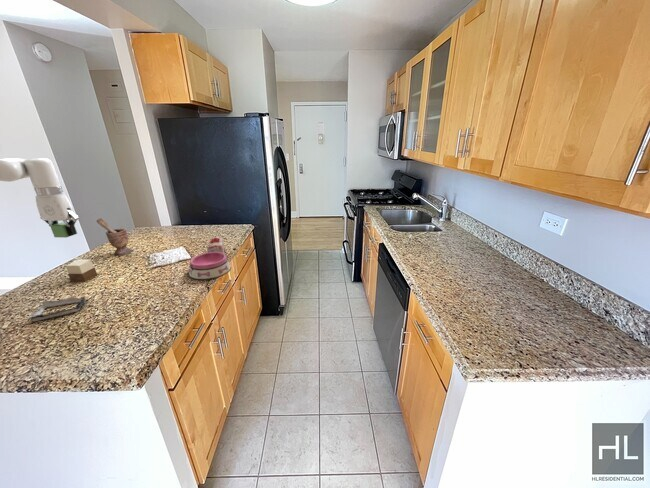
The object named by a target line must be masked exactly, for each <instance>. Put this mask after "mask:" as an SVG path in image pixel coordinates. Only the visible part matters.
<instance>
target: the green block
mask: <svg viewBox="0 0 650 488" xmlns="http://www.w3.org/2000/svg"><path fill="white" fill-rule="evenodd" d="M49 227H50V230H51V232H52V234H53V237H54V238H69V237H70V236H68V233H67V231H66V228H65V227H67V226H66V225H65V223H64V222H63V221H60V222H58V224H55V225H51V226H49ZM74 227H75V230H76V233H77V234H78V232H77V228H76V225H74Z"/></svg>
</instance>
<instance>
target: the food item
mask: <svg viewBox="0 0 650 488" xmlns="http://www.w3.org/2000/svg"><path fill="white" fill-rule="evenodd" d="M208 240H209V244H207V245H206V250H207V253H209V252H221V253H224V254H225V244H224V240H223V238H222V237H217V236H216V237H212V238H209V239H208Z"/></svg>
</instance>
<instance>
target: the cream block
mask: <svg viewBox="0 0 650 488" xmlns="http://www.w3.org/2000/svg"><path fill="white" fill-rule="evenodd" d="M94 267H95V266H94V264H93V262H92V259H77V260H74V261H72V262H70V263H68V264H66V265H65V268H66V271H67V273H68V274H83V273H85V272H87V271H88V270H90V269H92V268H94Z"/></svg>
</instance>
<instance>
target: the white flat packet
mask: <svg viewBox="0 0 650 488" xmlns="http://www.w3.org/2000/svg"><path fill="white" fill-rule="evenodd" d="M143 257H144V259H148V260H149V262H148V261H144V263H145V265H146V266H148V265H149V264H152V265H150V266H148V268H149V269H152V268H155V267H160V266H166V265H171V264H175V263H179V262H180V261H186V260H191V259H192V257H191V255H190V253H188V251H187V250H186V248H185V247H184V246H179V247H177V248H172V249H168V250H163V251H159V252H153V253H152V254H151V253H150V254H143ZM148 257H149V258H148Z"/></svg>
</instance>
